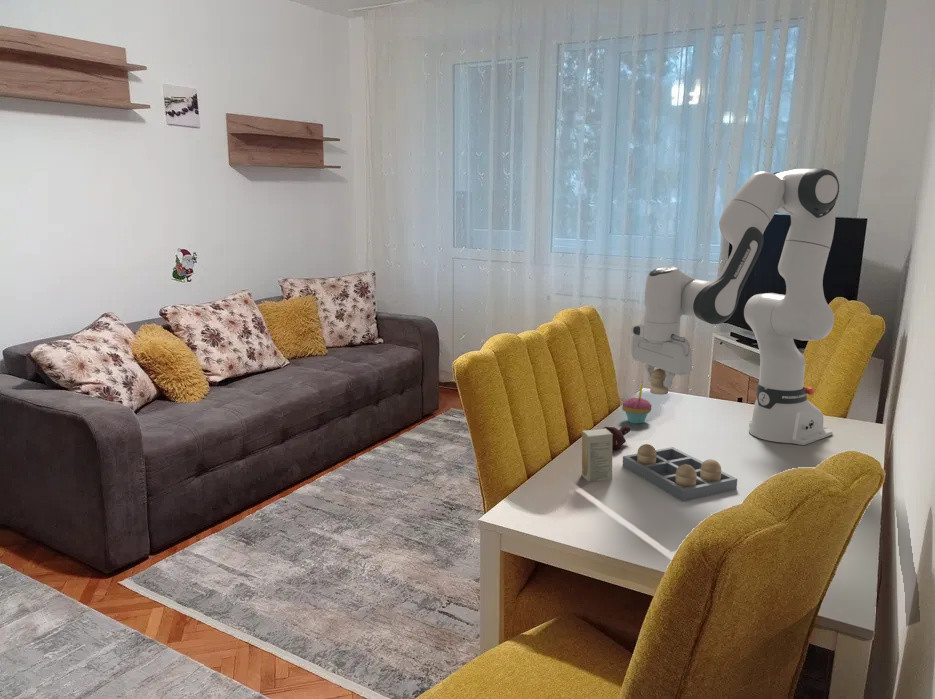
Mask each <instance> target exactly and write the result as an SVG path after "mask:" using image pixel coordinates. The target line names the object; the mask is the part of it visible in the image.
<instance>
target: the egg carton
mask: <svg viewBox="0 0 935 699" xmlns="http://www.w3.org/2000/svg"><path fill="white" fill-rule="evenodd" d="M655 450H656V463H655V464H649V465H642V464H640V463H639V462H637V453H634V454H628V455H627V454H626V455H623V456H622V467H623V468H625V469H627V470H629V471H630V472H632V473H634V474H635V475H637V476H638V477H639V478H642V479H644V480H645V481H647V482H649V483H651V484H652V485H654V486H656V488H659V489H661V490H662V491H664V492H666V493H668V494H669V495H671V496H672V497H674V498H676V499H678V500H679V501H681V502H687V501H691V500H692V501H693V500H697V499H700V498H705V497H709V496H714V495H718V494H722V493H723V494H724V493H727V492H733V491H737V490H738V489H737V488H738V478H736V477H734V476H733V475H730V474H728V473H727V472H724V471H722V470H721V480H719V481H715V482H710V483H709V482H707V481H705V480H704V479H702V478H700V471H701V465H702V463H703V462H704V461H702V460H700V459H698V458H695V457H694V456H692V455H690V454H688V453H686V452H684V451H682V450H680V449H678V448H676V447H673V446H670V447H665V448H659V449H655ZM684 464H688V465H691V466H692V467H693V468H694V469H695V470H696V474H697V477H696V486H691V487H687V488H683V487H681V486H679V485H678V484H676V483H675V479H676V470H677V468H678V467H679V466H681V465H684Z"/></svg>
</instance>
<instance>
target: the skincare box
mask: <svg viewBox="0 0 935 699" xmlns="http://www.w3.org/2000/svg"><path fill="white" fill-rule="evenodd" d="M603 428H604V427H603ZM581 433H582V434H581V475H582V477H583V479H585V480H586V481H587V482H597V481H600V482H601V481H609V480H613V450H612V437H613V434H612V433H611V432H610V431H609V430H607V429H606V428H604V429H602V428H596V429H587V430H582V431H581Z"/></svg>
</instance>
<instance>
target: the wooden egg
mask: <svg viewBox="0 0 935 699" xmlns="http://www.w3.org/2000/svg"><path fill="white" fill-rule="evenodd" d="M666 376H667V375H666V374H665V370H662V369H659V368H656V369H654V371H653V372H652V374H651V382H650V387H649V388H650V390H649V392H650V393H651V394H653V395H659V396H661V395H667V394H668V393H669V388H666V387H664V386H662V384H663V383H662V380H665V378H666Z"/></svg>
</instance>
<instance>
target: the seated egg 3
mask: <svg viewBox="0 0 935 699" xmlns="http://www.w3.org/2000/svg"><path fill="white" fill-rule="evenodd" d="M702 462H703V463H702V465H701V471H700V478H702V479H704V480H705V481H707V482H709V483H710V482H715V481H719V480H721V471H722V467H721V464H720V463H719V461H717V460H715V459H712V458H710V459H706V460H704V461H702Z"/></svg>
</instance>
